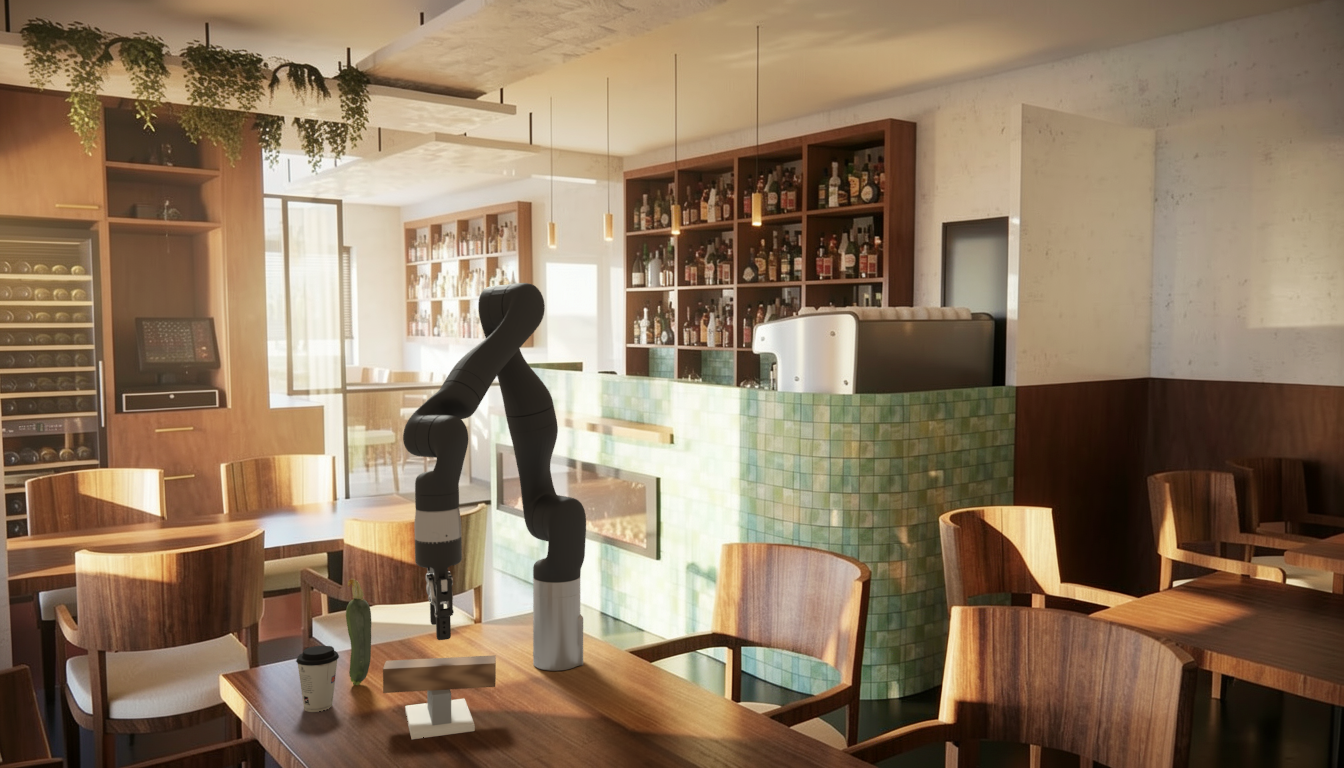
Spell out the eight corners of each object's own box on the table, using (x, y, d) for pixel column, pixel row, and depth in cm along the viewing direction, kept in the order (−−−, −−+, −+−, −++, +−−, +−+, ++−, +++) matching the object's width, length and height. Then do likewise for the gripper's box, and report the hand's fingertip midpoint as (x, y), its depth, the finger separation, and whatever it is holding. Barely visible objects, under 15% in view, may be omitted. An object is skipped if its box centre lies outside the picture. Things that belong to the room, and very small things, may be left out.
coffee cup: (298, 717, 159) (298, 659, 159) (294, 703, 166) (293, 647, 165) (342, 710, 163) (341, 653, 162) (336, 696, 169) (335, 641, 168)
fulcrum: (464, 704, 166) (464, 670, 165) (474, 730, 155) (474, 694, 154) (405, 711, 162) (405, 676, 162) (411, 739, 151) (411, 702, 151)
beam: (495, 678, 162) (495, 655, 161) (495, 686, 158) (495, 663, 158) (386, 684, 159) (386, 660, 158) (383, 693, 155) (382, 669, 154)
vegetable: (375, 682, 176) (374, 575, 175) (365, 690, 172) (364, 581, 171) (352, 681, 176) (351, 574, 175) (342, 689, 172) (341, 580, 171)
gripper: (467, 542, 151) (469, 641, 152) (455, 524, 165) (457, 616, 166) (419, 546, 149) (421, 647, 150) (410, 528, 162) (413, 621, 163)
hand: (440, 631), depth 158 cm, fingers open, 8 cm apart
